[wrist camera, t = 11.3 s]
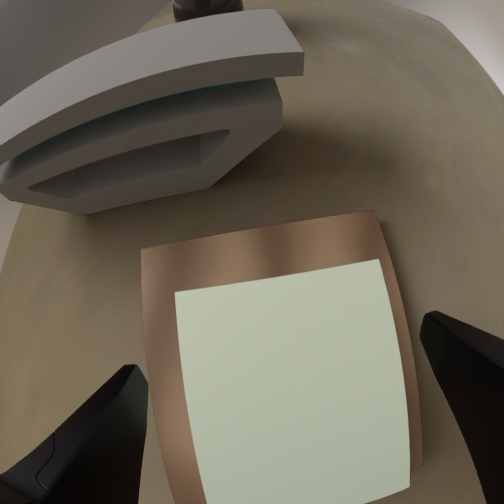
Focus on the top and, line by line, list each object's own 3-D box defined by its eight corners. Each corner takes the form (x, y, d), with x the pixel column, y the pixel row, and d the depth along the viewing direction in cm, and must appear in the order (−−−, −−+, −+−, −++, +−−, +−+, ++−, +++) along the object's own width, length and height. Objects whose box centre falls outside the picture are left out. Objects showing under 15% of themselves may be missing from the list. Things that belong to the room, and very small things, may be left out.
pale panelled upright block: (255, 428, 13) (218, 541, 3) (241, 335, 15) (174, 292, 5) (325, 416, 13) (408, 506, 3) (310, 323, 15) (378, 258, 5)
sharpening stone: (278, 112, 24) (275, 8, 14) (295, 176, 21) (304, 51, 11) (54, 167, 24) (1, 106, 14) (37, 228, 22) (-35, 171, 11)
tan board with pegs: (368, 220, 19) (388, 185, 15) (413, 459, 12) (444, 478, 8) (149, 256, 19) (120, 230, 15) (183, 498, 13) (160, 528, 8)
